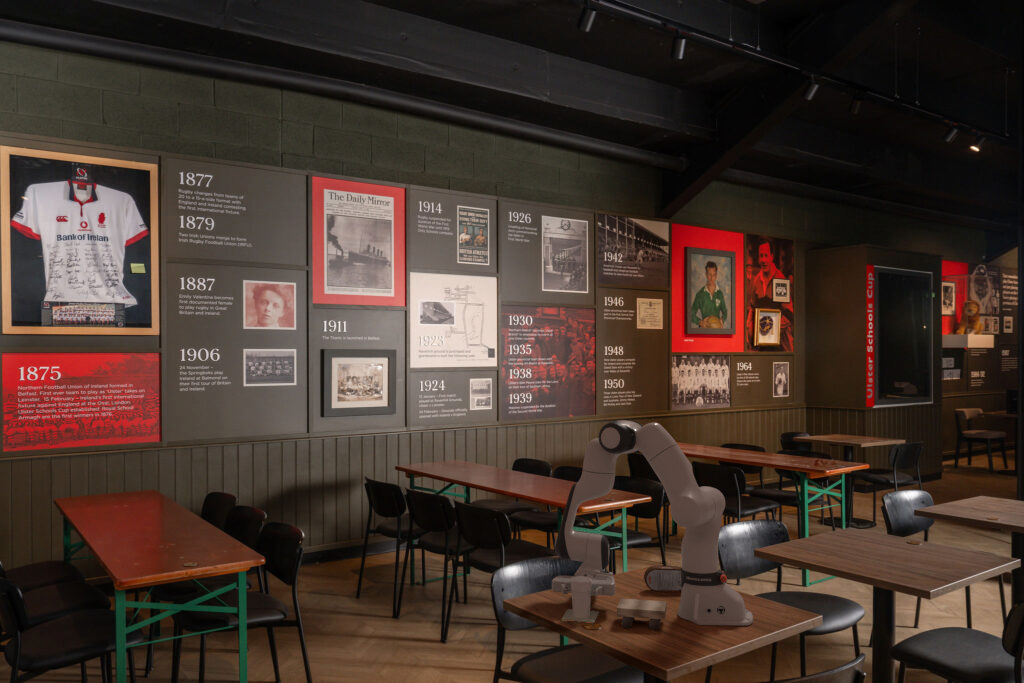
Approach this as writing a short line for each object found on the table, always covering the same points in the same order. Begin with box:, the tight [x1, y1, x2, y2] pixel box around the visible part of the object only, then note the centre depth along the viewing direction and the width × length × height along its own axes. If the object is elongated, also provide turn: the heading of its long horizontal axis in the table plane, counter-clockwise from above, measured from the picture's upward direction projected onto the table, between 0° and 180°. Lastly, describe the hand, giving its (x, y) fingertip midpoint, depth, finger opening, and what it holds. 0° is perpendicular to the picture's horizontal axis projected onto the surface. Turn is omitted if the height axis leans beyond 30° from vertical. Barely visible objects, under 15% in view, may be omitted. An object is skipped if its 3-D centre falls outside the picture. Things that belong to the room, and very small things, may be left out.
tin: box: [643, 565, 682, 592], centre depth 259 cm, size 15×3×8 cm, turn 84°
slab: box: [616, 597, 668, 631], centre depth 226 cm, size 14×12×5 cm
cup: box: [570, 576, 592, 618], centre depth 232 cm, size 7×7×11 cm
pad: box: [561, 608, 600, 624], centre depth 231 cm, size 10×10×1 cm
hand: (579, 592), depth 231 cm, fingers open, 8 cm apart
